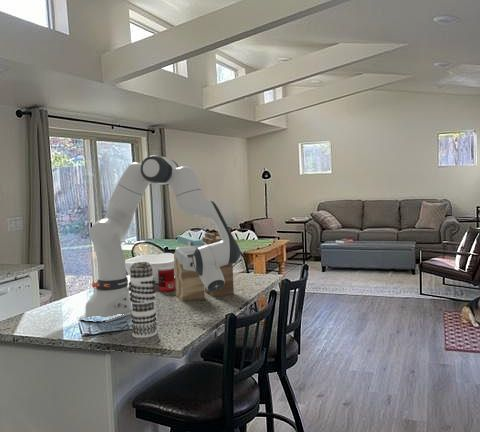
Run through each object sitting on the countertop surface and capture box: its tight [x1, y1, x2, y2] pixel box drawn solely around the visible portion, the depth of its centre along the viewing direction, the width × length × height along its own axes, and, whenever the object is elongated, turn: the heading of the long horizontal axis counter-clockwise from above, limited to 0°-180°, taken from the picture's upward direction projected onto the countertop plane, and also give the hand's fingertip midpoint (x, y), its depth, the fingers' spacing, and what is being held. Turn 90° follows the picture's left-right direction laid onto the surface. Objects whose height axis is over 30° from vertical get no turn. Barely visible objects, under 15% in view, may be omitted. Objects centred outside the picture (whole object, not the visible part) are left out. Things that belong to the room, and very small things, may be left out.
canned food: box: [158, 266, 176, 293], centre depth 246 cm, size 8×8×11 cm
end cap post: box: [201, 231, 235, 298], centre depth 235 cm, size 12×10×28 cm
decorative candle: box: [128, 262, 158, 339], centre depth 176 cm, size 9×9×25 cm
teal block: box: [177, 234, 203, 246], centre depth 226 cm, size 26×4×3 cm, turn 22°
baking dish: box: [125, 252, 175, 285], centre depth 269 cm, size 34×28×13 cm
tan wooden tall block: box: [173, 248, 206, 302], centre depth 230 cm, size 12×10×22 cm
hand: (194, 241), depth 218 cm, fingers closed on teal block, 3 cm apart
